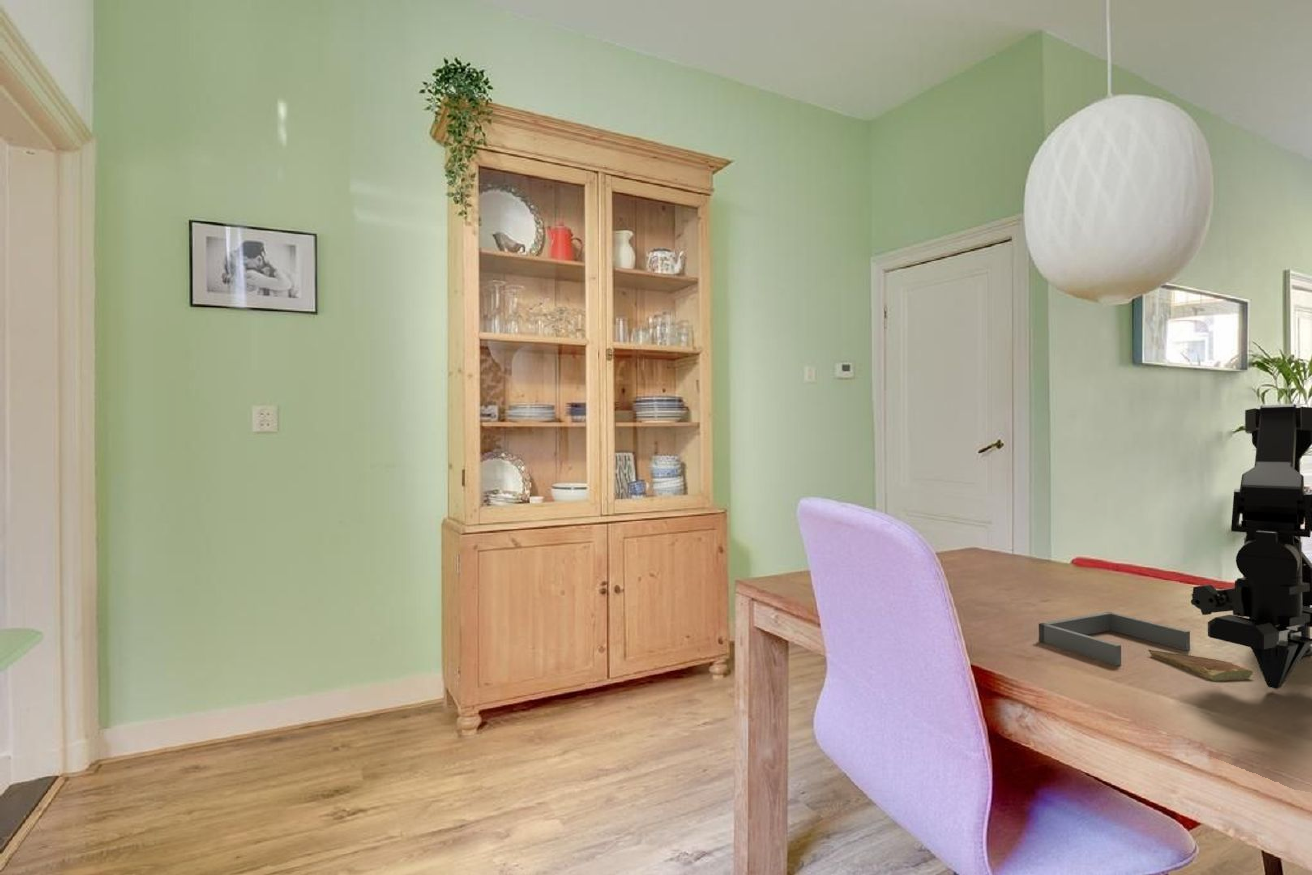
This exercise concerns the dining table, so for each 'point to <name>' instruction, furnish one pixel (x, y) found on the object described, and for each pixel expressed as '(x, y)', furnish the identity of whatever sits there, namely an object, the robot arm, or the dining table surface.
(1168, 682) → the dining table surface
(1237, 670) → the shard
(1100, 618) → the box
